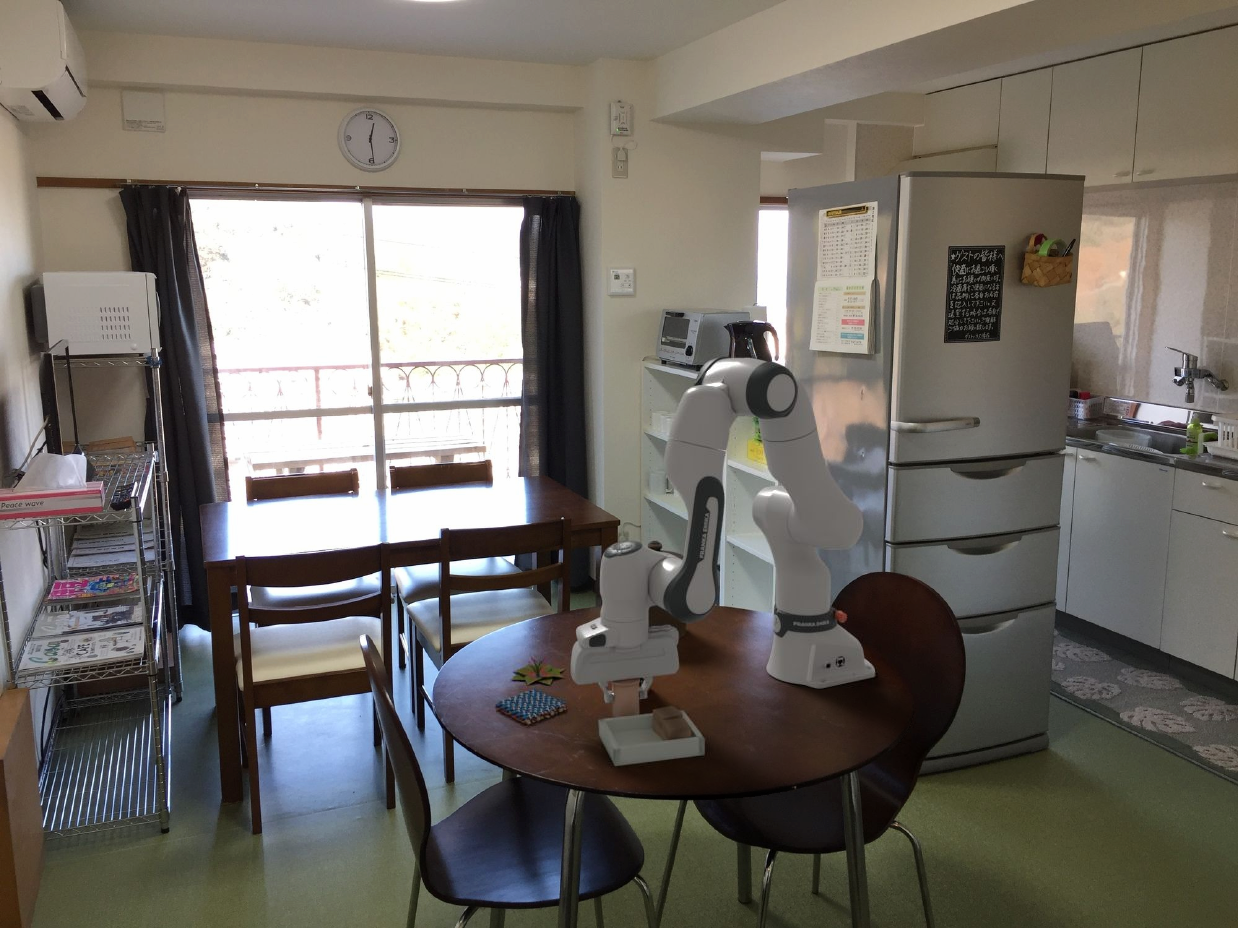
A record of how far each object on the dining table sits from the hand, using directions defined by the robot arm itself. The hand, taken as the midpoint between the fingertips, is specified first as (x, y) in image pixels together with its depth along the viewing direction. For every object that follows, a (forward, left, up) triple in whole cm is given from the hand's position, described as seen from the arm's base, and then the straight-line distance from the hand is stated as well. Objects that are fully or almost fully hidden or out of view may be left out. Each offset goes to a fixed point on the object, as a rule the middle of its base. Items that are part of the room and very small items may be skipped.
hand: (625, 699), depth 180 cm
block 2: (-6, +14, -3) cm, 15 cm away
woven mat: (+16, -9, -5) cm, 19 cm away
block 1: (-6, +9, -3) cm, 11 cm away
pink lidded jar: (0, 0, -3) cm, 3 cm away
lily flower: (+12, -25, -5) cm, 28 cm away
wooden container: (-19, -44, -4) cm, 48 cm away
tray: (-2, +11, -4) cm, 12 cm away
